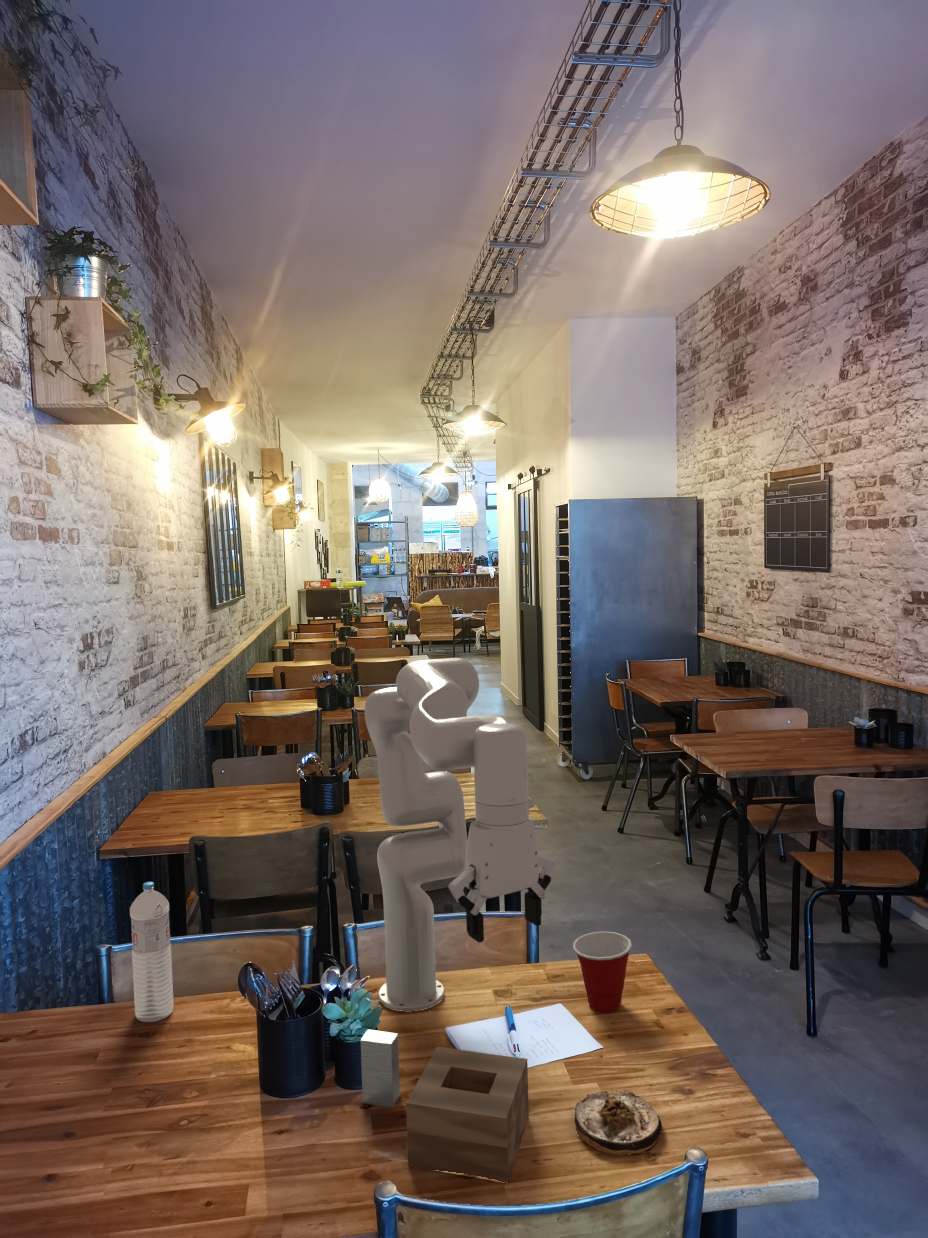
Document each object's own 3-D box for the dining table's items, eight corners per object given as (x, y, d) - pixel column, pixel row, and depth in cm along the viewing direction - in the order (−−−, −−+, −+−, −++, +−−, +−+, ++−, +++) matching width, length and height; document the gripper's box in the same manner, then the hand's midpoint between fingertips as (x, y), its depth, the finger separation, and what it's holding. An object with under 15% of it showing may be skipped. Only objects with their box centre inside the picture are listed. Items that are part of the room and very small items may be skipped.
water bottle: (166, 1023, 154) (159, 890, 153) (129, 1024, 154) (122, 890, 153) (179, 1004, 161) (173, 876, 160) (143, 1005, 161) (137, 877, 160)
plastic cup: (567, 993, 161) (566, 932, 161) (622, 988, 162) (621, 928, 162) (581, 1023, 150) (580, 957, 150) (640, 1018, 152) (639, 953, 151)
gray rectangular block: (370, 1091, 132) (368, 1029, 132) (400, 1096, 131) (398, 1033, 130) (362, 1103, 129) (360, 1040, 129) (393, 1108, 128) (391, 1044, 127)
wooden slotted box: (438, 1104, 129) (437, 1047, 128) (528, 1118, 125) (527, 1059, 124) (408, 1166, 115) (406, 1103, 115) (507, 1184, 111) (506, 1118, 111)
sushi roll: (684, 1163, 115) (684, 1134, 115) (576, 1170, 114) (575, 1140, 114) (654, 1096, 130) (654, 1070, 130) (558, 1102, 129) (558, 1075, 129)
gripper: (536, 796, 126) (539, 908, 127) (435, 816, 118) (439, 936, 118) (567, 808, 120) (569, 925, 121) (462, 829, 111) (466, 956, 112)
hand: (505, 930), depth 120 cm, fingers open, 9 cm apart
